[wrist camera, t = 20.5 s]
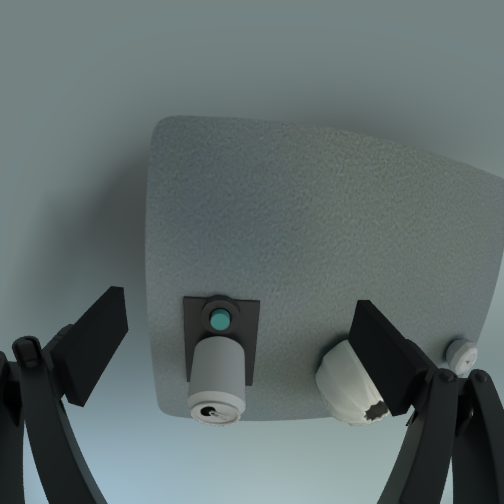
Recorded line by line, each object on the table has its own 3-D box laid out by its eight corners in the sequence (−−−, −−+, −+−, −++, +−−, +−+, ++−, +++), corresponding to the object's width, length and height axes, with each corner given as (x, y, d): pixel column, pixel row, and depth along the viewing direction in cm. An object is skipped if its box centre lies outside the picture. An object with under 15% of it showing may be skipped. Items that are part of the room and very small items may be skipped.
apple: (462, 354, 47) (477, 368, 41) (437, 368, 47) (452, 385, 41) (466, 326, 45) (484, 340, 39) (441, 340, 45) (458, 356, 39)
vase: (371, 385, 46) (398, 432, 34) (304, 390, 46) (320, 446, 33) (393, 324, 43) (433, 367, 30) (319, 326, 42) (347, 379, 29)
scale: (183, 291, 40) (181, 297, 37) (260, 295, 40) (261, 302, 38) (187, 379, 44) (185, 388, 42) (252, 383, 44) (252, 391, 42)
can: (202, 326, 38) (192, 396, 28) (252, 340, 40) (255, 409, 29) (190, 357, 42) (180, 422, 31) (234, 369, 43) (234, 433, 32)
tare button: (211, 307, 38) (210, 313, 37) (230, 309, 39) (229, 314, 37) (211, 324, 39) (210, 329, 38) (229, 325, 39) (229, 330, 38)
